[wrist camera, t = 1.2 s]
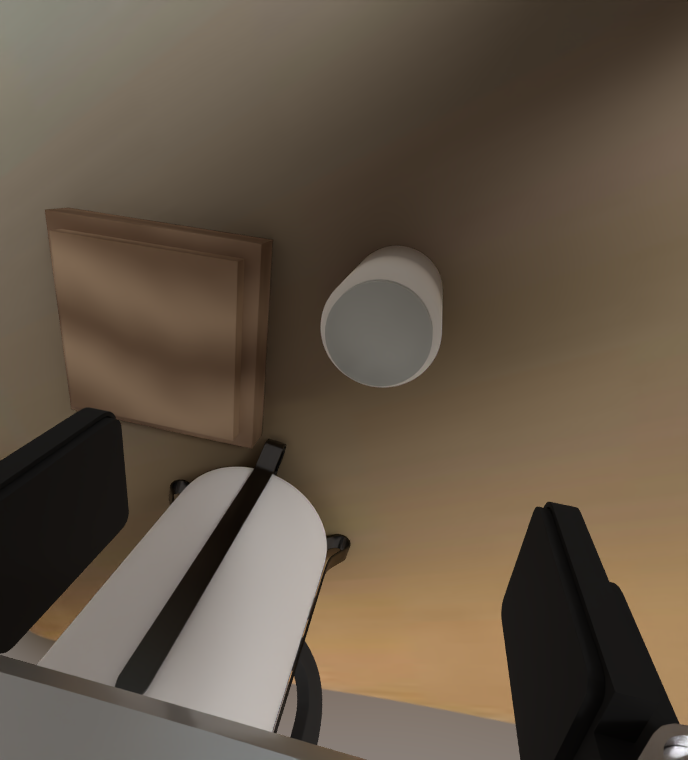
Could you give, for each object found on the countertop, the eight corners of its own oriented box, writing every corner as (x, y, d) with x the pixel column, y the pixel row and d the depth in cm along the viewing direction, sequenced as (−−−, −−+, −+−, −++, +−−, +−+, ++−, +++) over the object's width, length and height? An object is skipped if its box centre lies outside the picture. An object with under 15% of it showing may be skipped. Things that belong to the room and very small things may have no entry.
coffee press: (160, 551, 42) (-357, 1227, 15) (193, 401, 35) (-650, 1155, 8) (342, 628, 41) (144, 1484, 14) (412, 491, 34) (289, 1643, 7)
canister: (357, 239, 28) (322, 263, 20) (451, 253, 28) (454, 285, 20) (345, 328, 31) (311, 381, 23) (432, 343, 30) (428, 404, 22)
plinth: (68, 207, 31) (32, 210, 28) (272, 239, 29) (255, 246, 27) (89, 398, 37) (61, 415, 34) (262, 434, 35) (246, 456, 32)
